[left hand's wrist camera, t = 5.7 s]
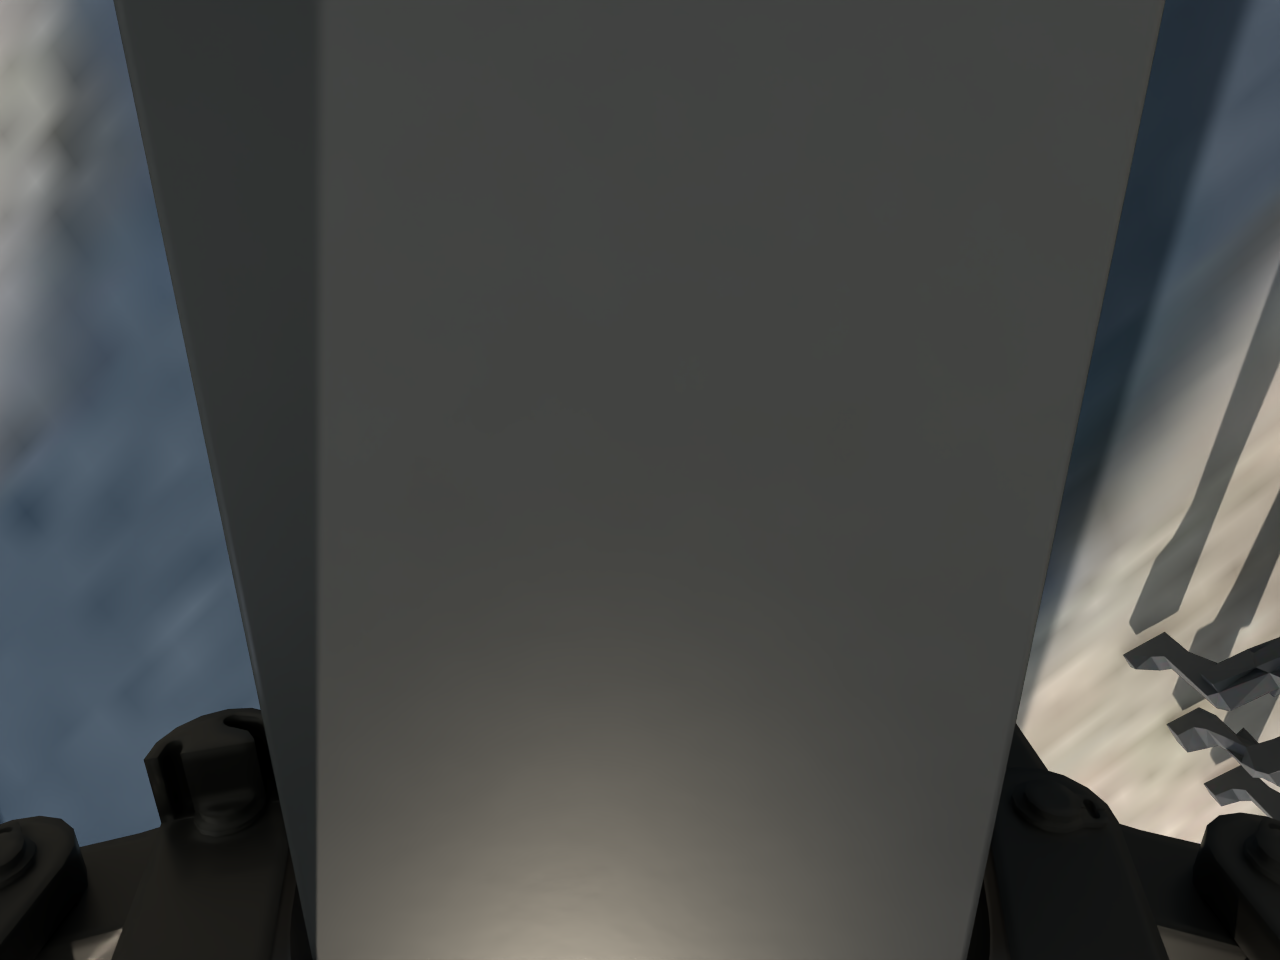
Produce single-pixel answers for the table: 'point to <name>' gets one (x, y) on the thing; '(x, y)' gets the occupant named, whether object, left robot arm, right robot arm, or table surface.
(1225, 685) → the toy
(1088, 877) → the left robot arm
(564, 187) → the bar
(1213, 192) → the table surface
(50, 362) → the table surface
